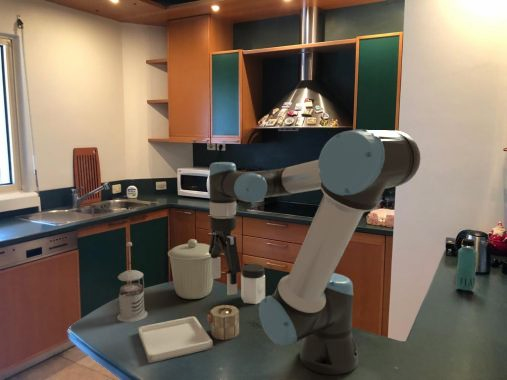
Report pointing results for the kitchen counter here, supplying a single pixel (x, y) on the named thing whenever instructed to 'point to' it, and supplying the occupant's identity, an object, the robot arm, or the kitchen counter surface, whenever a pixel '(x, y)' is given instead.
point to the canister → (191, 269)
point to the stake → (224, 312)
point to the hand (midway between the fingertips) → (223, 285)
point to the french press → (131, 296)
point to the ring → (224, 322)
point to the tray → (174, 339)
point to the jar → (252, 283)
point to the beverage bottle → (466, 266)
